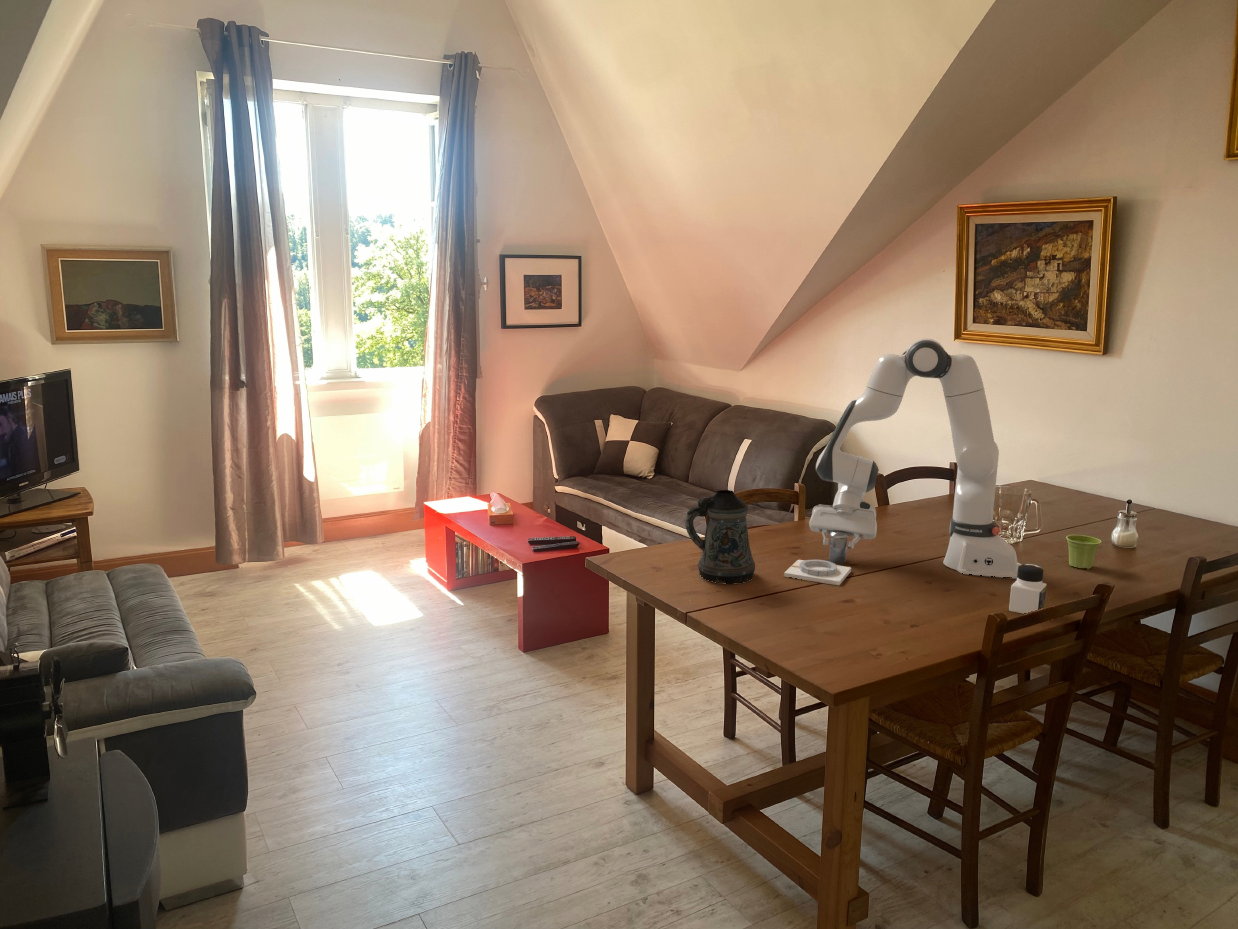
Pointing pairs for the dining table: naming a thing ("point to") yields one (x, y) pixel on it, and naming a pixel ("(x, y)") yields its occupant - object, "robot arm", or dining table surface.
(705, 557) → the beer stein
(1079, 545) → the plant pot
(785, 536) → the dining table surface
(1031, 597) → the medicine bottle
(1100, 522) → the dining table surface
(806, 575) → the mounting plate
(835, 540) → the coupling
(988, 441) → the robot arm
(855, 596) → the dining table surface
